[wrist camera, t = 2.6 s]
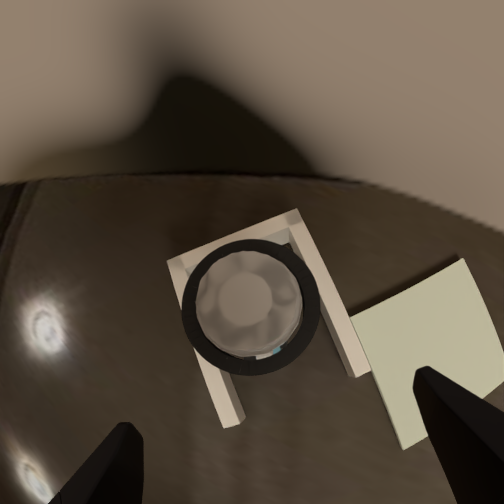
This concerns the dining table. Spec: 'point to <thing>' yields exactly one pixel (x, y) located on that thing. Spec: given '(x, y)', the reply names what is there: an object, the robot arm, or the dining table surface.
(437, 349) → the mat
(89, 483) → the robot arm
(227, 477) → the dining table surface
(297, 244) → the white u-shaped bracket
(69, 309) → the dining table surface
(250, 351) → the push button
